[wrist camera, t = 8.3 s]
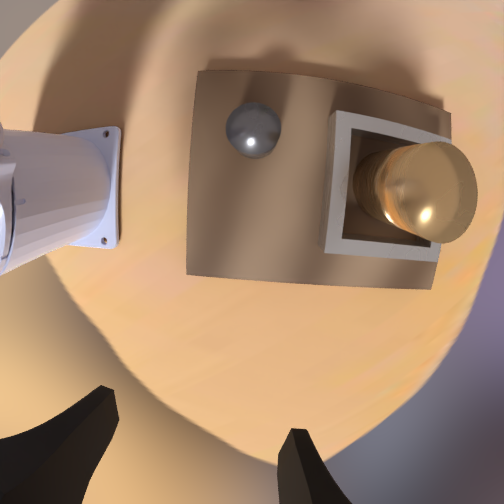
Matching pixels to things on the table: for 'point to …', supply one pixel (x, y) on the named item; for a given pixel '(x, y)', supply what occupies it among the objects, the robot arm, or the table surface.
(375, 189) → the cylinder
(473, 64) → the table surface
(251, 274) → the fitting board
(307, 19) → the table surface
